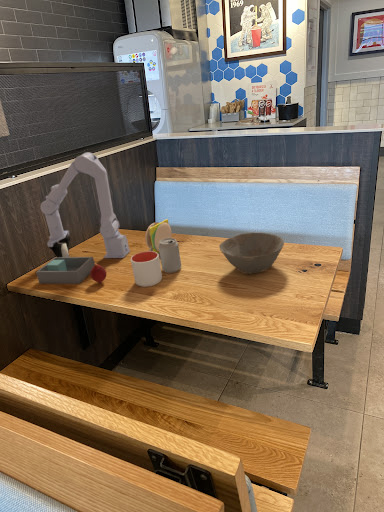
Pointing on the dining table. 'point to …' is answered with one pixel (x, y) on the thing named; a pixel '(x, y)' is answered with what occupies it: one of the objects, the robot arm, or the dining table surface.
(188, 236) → the dining table surface
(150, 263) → the cup
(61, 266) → the cube
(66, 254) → the cylinder
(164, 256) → the can
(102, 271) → the onion
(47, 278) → the tote
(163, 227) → the hamburger
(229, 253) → the ceramic bowl
